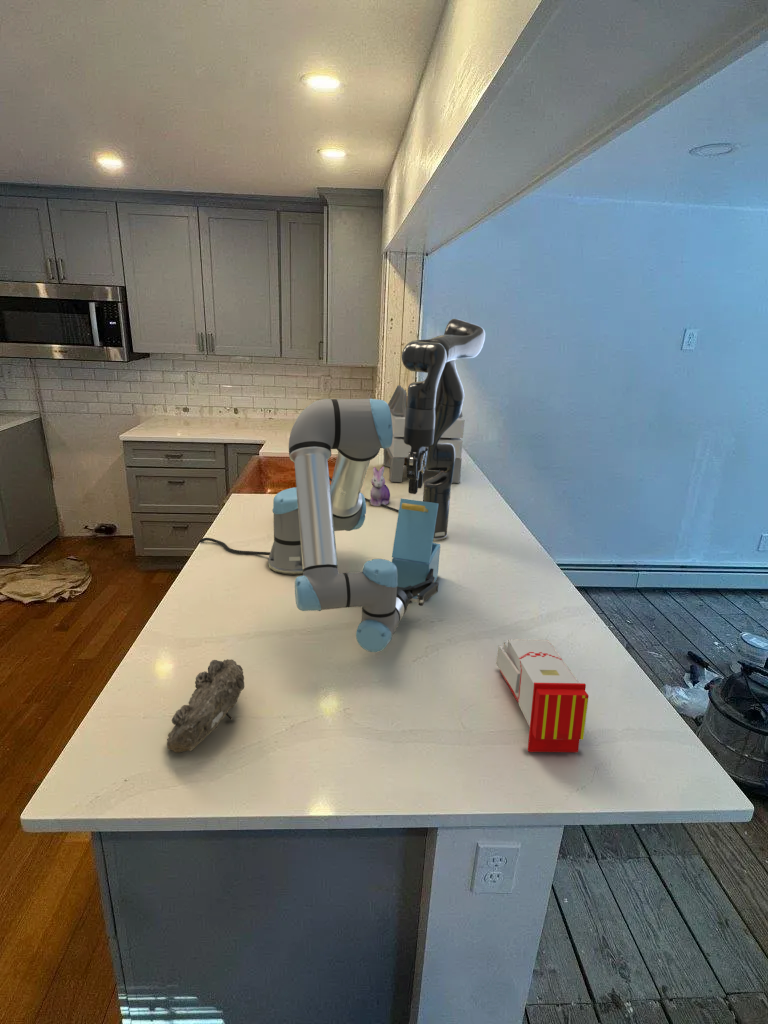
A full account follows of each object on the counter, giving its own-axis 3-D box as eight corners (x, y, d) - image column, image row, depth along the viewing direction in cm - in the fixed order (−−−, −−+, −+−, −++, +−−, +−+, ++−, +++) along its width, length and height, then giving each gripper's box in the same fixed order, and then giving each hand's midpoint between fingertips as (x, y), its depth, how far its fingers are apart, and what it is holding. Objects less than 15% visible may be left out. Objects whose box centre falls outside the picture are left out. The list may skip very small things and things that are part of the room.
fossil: (192, 660, 117) (244, 628, 112) (224, 691, 120) (276, 661, 115) (142, 746, 98) (202, 712, 93) (182, 779, 101) (242, 748, 96)
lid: (401, 498, 155) (394, 495, 147) (438, 503, 153) (433, 500, 145) (392, 557, 154) (385, 556, 146) (429, 563, 152) (424, 563, 144)
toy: (545, 622, 128) (598, 691, 98) (539, 677, 130) (589, 759, 101) (491, 621, 127) (529, 690, 98) (487, 676, 130) (522, 759, 101)
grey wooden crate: (382, 463, 289) (386, 382, 275) (445, 464, 293) (451, 384, 279) (390, 482, 257) (394, 392, 243) (460, 483, 261) (468, 394, 247)
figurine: (374, 508, 224) (376, 471, 219) (363, 500, 232) (364, 464, 227) (395, 505, 228) (397, 469, 223) (384, 497, 237) (385, 462, 231)
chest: (404, 571, 172) (406, 538, 168) (437, 576, 169) (440, 543, 165) (390, 594, 158) (392, 559, 154) (426, 600, 155) (429, 565, 151)
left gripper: (345, 612, 141) (372, 575, 161) (435, 629, 135) (452, 589, 155) (345, 585, 138) (373, 551, 158) (437, 601, 132) (454, 564, 152)
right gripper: (428, 432, 134) (423, 500, 140) (440, 421, 147) (435, 484, 152) (397, 429, 136) (393, 496, 141) (412, 419, 149) (408, 481, 154)
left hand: (412, 569), depth 157 cm, fingers closed on chest, 10 cm apart
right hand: (415, 490), depth 147 cm, fingers open, 5 cm apart
